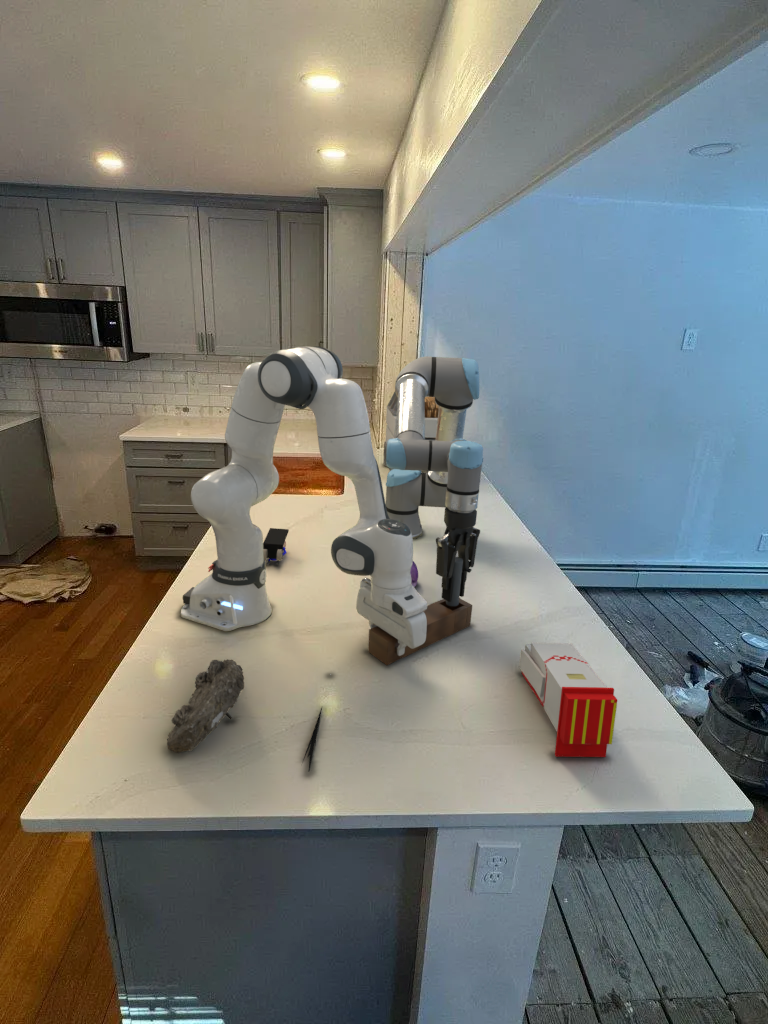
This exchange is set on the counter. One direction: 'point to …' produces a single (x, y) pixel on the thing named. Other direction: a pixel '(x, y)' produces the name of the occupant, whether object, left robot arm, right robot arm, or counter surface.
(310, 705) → the counter surface
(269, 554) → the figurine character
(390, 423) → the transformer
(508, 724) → the counter surface
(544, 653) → the toy
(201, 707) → the fossil
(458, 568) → the peg
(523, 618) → the counter surface
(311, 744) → the feather
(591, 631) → the counter surface
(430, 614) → the peg board
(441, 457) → the right robot arm
